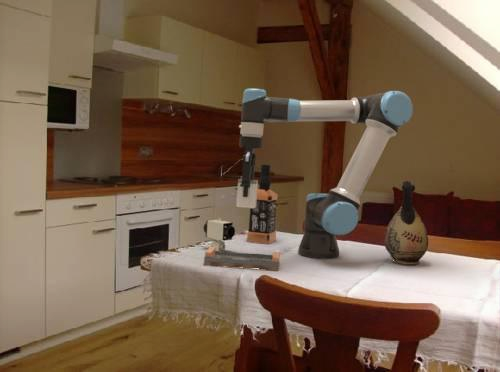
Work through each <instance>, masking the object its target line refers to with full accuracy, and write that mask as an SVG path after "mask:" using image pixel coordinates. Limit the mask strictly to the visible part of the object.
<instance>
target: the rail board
mask: <svg viewBox="0 0 500 372" xmlns="http://www.w3.org/2000/svg"><path fill="white" fill-rule="evenodd" d="M215 250H216V247H211V246H209V247H208V249H207V250H205V253H204V257H203V259H204V260H203V266H206V265H210V266H209V267H218V266H227V267H226V268H231V267H243V268H242V269H244V268H259V269H265V270H264V271H269V272H270V271H272V272H278V271H279V266H280V254H281V253H280V251H273V253H272V254H262V253H250V252H249V253H248V252H236V251H235V252H234V251H225V250H224V251H215Z"/></svg>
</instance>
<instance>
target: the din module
mask: <svg viewBox="0 0 500 372" xmlns="http://www.w3.org/2000/svg"><path fill="white" fill-rule="evenodd" d="M241 183H242V178H240V179H237V193H236V205H235V206H236V208H242V207H241V195H242V187H240V184H241ZM258 186H259V180H258V179H256V180H255V179H254V180H251V181H250V187H251V188H250V201H249V207H243V208H245V209H250V208H255V207H256V201H257V189H258Z"/></svg>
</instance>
